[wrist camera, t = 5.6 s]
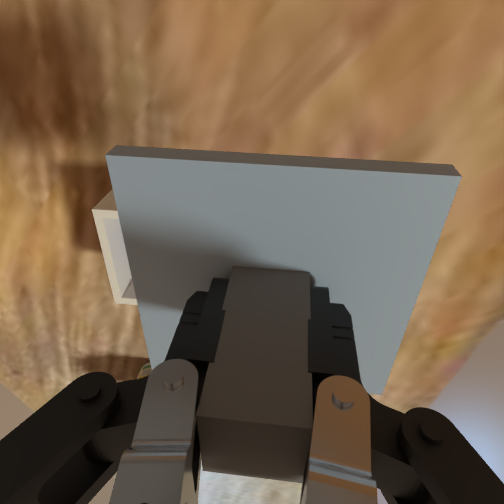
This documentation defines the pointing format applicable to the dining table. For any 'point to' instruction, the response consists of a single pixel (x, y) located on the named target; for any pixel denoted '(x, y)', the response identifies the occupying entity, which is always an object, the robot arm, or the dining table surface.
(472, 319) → the dining table surface
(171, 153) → the lid
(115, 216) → the box
